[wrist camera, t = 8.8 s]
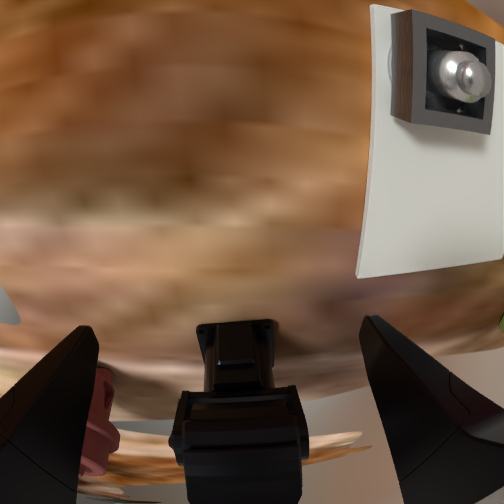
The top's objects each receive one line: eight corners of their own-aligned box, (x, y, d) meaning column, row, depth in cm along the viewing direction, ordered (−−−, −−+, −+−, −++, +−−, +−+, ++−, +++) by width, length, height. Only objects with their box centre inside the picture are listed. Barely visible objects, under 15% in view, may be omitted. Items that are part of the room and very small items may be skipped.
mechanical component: (33, 341, 27) (108, 340, 27) (74, 394, 32) (143, 396, 32) (-6, 436, 17) (77, 457, 17) (52, 477, 22) (130, 493, 22)
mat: (498, 255, 25) (501, 259, 24) (355, 274, 25) (357, 278, 24) (532, 60, 14) (537, 61, 14) (369, 5, 14) (373, 3, 13)
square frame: (467, 125, 17) (490, 135, 15) (390, 115, 17) (410, 123, 14) (471, 37, 13) (495, 39, 11) (390, 14, 13) (411, 9, 11)
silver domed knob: (460, 121, 17) (509, 141, 13) (386, 112, 17) (431, 129, 13) (463, 37, 14) (514, 41, 10) (385, 17, 14) (432, 8, 9)
